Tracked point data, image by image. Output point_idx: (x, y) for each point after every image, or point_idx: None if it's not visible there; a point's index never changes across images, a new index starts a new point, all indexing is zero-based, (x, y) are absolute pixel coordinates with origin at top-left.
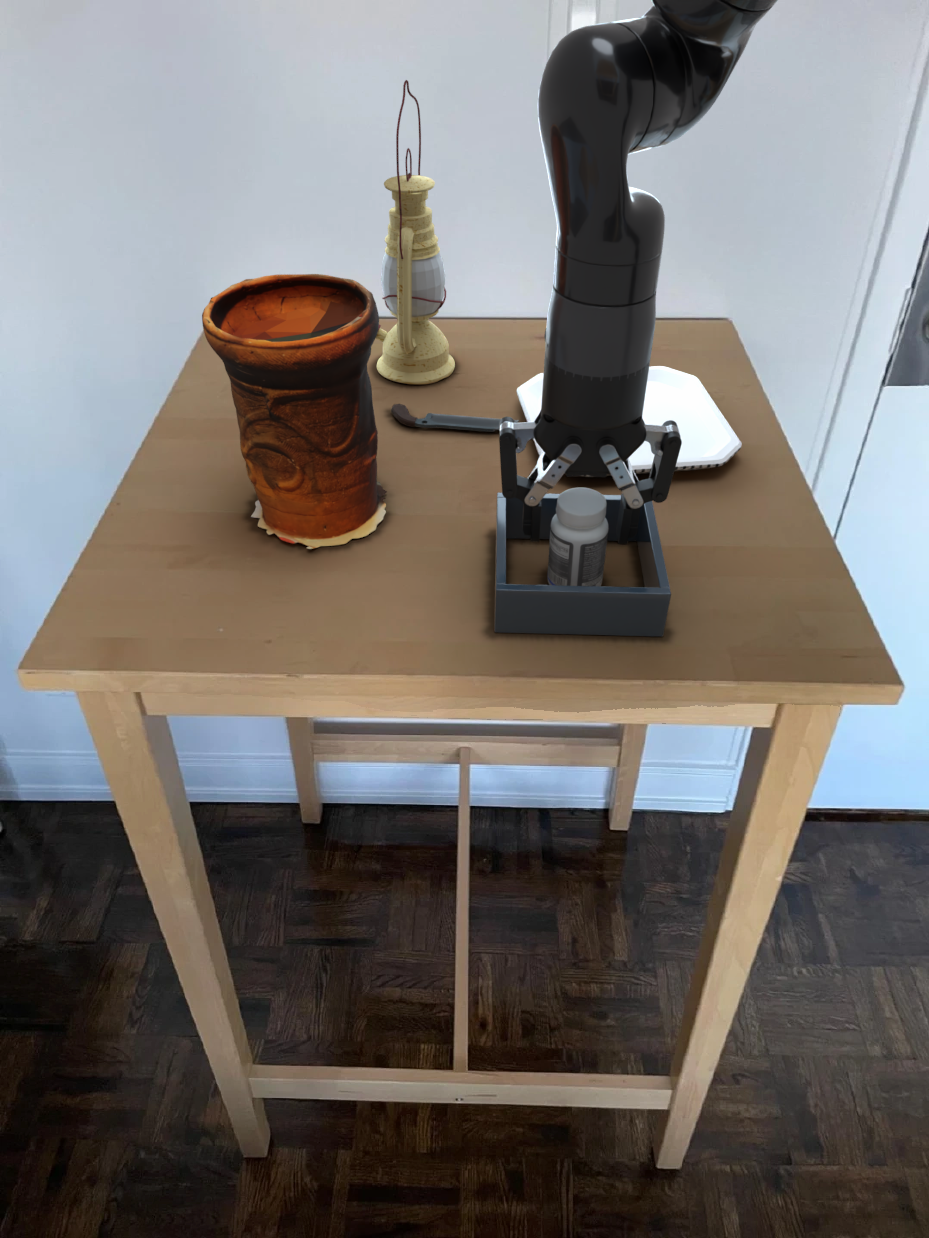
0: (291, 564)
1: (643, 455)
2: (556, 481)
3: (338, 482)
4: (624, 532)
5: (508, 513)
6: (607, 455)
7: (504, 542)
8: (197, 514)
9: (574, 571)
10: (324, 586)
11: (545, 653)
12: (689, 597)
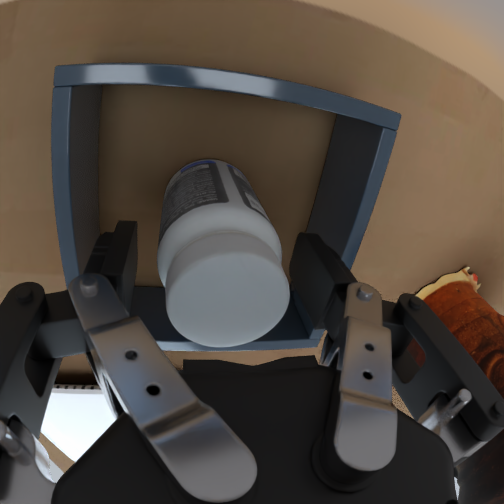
0: (480, 249)
1: (104, 404)
2: (350, 333)
3: (475, 329)
4: (123, 234)
5: (296, 319)
6: (210, 448)
7: (351, 239)
8: (493, 303)
9: (227, 177)
10: (474, 217)
11: (291, 41)
12: (38, 163)
